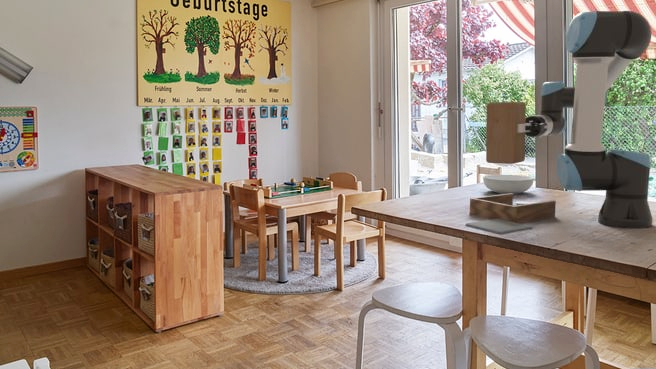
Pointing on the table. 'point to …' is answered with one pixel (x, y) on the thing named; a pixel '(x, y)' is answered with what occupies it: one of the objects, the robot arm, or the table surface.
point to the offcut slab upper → (524, 203)
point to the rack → (510, 208)
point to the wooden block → (505, 132)
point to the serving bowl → (508, 183)
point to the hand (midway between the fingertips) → (502, 127)
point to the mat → (498, 226)
